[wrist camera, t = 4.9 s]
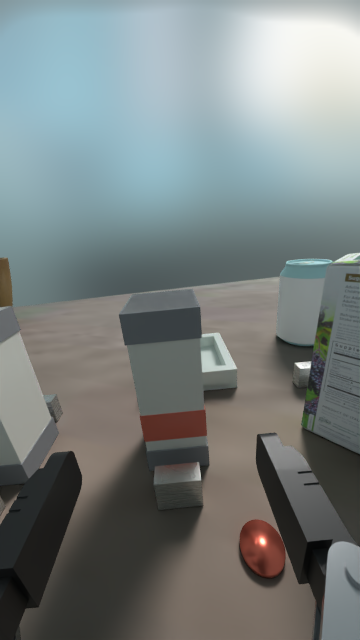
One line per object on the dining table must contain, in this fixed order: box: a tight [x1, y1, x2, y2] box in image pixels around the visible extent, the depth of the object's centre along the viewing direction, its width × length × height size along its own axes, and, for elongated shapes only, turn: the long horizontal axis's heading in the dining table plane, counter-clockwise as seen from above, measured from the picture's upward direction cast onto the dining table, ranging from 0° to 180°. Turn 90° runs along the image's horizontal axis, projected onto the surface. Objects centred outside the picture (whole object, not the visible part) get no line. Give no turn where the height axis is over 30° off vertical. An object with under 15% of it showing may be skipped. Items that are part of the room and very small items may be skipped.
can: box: [276, 259, 333, 346], centre depth 34 cm, size 7×7×12 cm
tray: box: [200, 333, 237, 391], centre depth 30 cm, size 10×10×2 cm
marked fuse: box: [119, 289, 209, 471], centre depth 17 cm, size 5×5×13 cm
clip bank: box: [0, 361, 311, 578], centre depth 18 cm, size 32×15×2 cm, turn 92°
